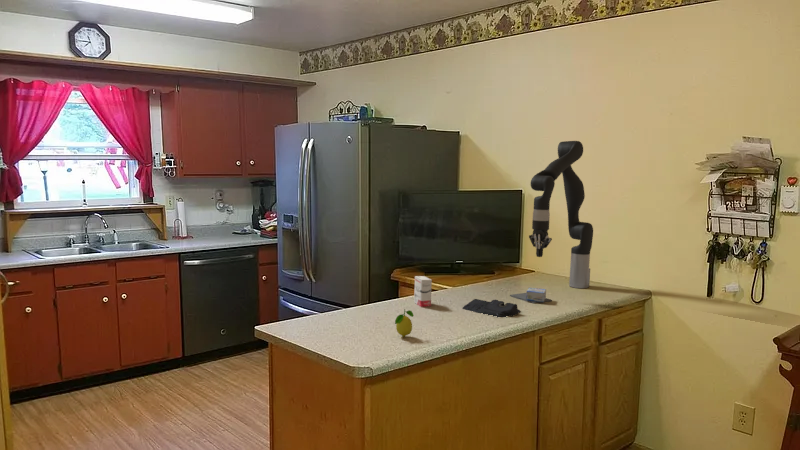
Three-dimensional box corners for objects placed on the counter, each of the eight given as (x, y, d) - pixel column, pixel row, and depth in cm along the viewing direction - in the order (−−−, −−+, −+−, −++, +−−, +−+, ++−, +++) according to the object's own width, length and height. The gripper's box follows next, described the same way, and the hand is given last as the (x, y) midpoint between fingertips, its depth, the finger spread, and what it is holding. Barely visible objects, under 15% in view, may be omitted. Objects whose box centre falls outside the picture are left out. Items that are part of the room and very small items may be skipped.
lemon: (413, 334, 204) (414, 306, 203) (414, 339, 199) (415, 311, 198) (394, 334, 204) (395, 306, 203) (394, 339, 198) (395, 310, 197)
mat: (527, 293, 275) (527, 292, 275) (551, 301, 261) (551, 299, 261) (509, 295, 269) (509, 294, 269) (533, 303, 256) (533, 302, 256)
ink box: (431, 306, 246) (432, 279, 244) (420, 307, 244) (421, 279, 243) (423, 301, 254) (424, 275, 252) (413, 302, 252) (414, 276, 251)
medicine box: (546, 289, 263) (544, 292, 255) (545, 298, 263) (543, 302, 255) (528, 287, 266) (526, 290, 258) (528, 296, 266) (525, 300, 258)
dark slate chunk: (480, 303, 254) (480, 293, 254) (523, 313, 240) (524, 302, 239) (459, 309, 243) (459, 298, 243) (503, 320, 228) (504, 308, 228)
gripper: (557, 220, 259) (555, 258, 261) (536, 217, 271) (535, 254, 273) (545, 221, 256) (543, 259, 258) (524, 218, 267) (523, 255, 269)
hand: (539, 256), depth 265 cm, fingers closed
